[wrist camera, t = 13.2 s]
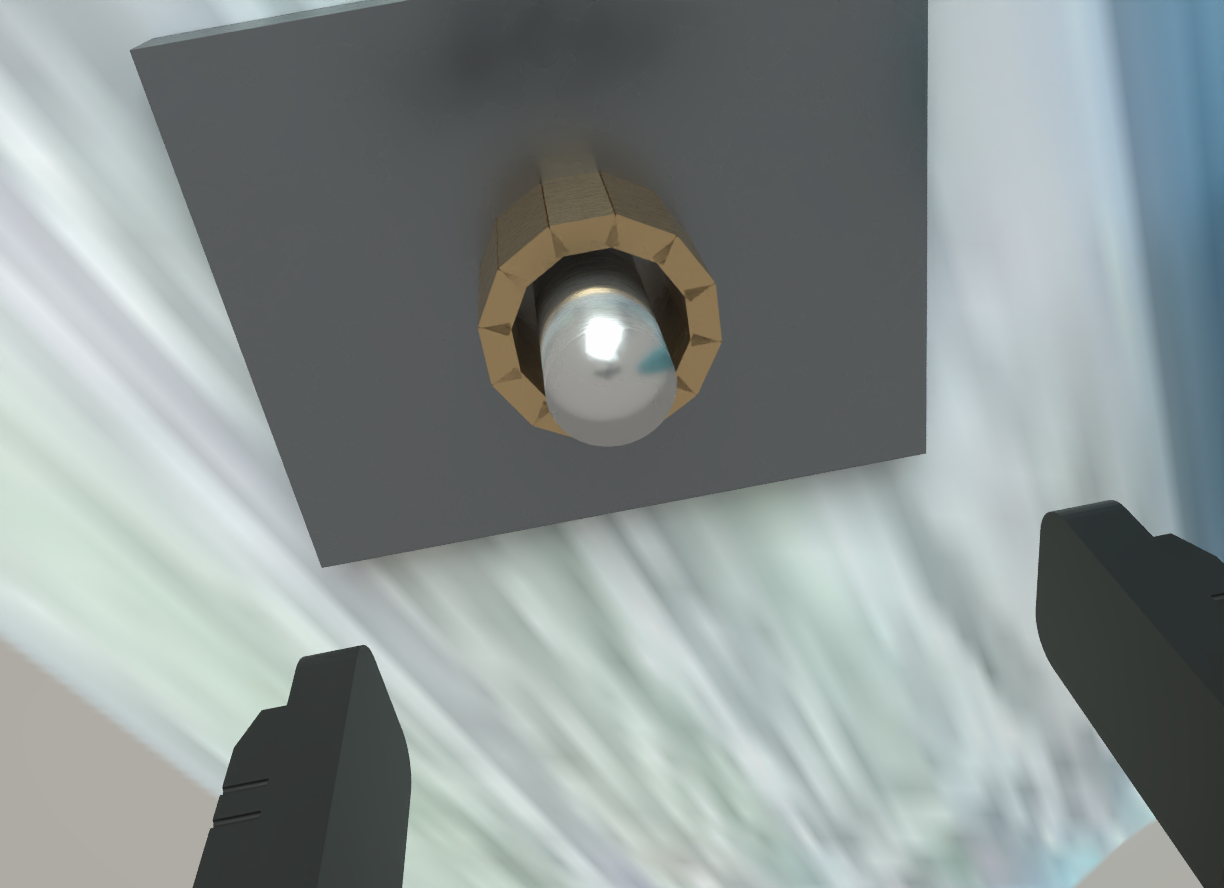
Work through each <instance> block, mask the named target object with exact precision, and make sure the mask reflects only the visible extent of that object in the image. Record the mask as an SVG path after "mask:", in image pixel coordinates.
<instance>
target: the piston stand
mask: <svg viewBox="0 0 1224 888" xmlns="http://www.w3.org/2000/svg"><path fill="white" fill-rule="evenodd" d="M130 52H131V55H132V58H133V61H134V63H135V66H136V69H137V71H138V74H139V77H140V79H141V82H142V85H143V87H144V90H145V93H146V96H147V98H148V101H149V104H150V106H151V109H152V112H153V114H154V117H155V120H156V122H157V125H158V128H159V131H160V133H161V136H162V139H163V141H164V144H165V147H166V149H167V152H168V155H169V157H170V160H171V163H172V165H173V168H174V171H175V174H176V176H177V179H178V182H179V184H180V187H181V190H182V192H183V195H184V198H185V200H186V203H187V206H188V209H189V211H190V214H191V217H192V219H193V222H194V225H195V227H196V230H197V233H198V235H199V238H200V241H201V244H202V246H203V249H204V252H205V254H206V257H207V260H208V262H209V265H210V268H211V270H212V273H213V276H214V279H215V281H216V284H217V287H218V289H219V292H220V295H221V297H222V300H223V303H224V305H225V308H226V311H227V314H228V316H229V319H230V322H231V324H232V327H233V330H234V332H235V335H236V338H237V340H238V343H239V346H240V349H241V351H242V354H243V357H244V359H245V362H246V365H247V367H248V370H249V373H250V375H251V378H252V381H253V384H254V386H255V389H256V392H257V394H258V397H259V400H260V402H261V405H262V408H263V410H264V413H265V416H266V419H267V421H268V424H269V427H270V429H271V432H272V435H273V437H274V440H275V443H276V445H277V448H278V451H279V453H280V456H281V459H282V462H283V464H284V467H285V470H286V472H287V475H288V478H289V480H290V483H291V486H292V488H293V491H294V494H295V497H296V499H297V502H298V505H299V507H300V510H301V513H302V515H303V518H304V521H305V523H306V526H307V529H308V532H309V534H310V537H311V540H312V542H313V545H314V548H315V550H316V553H317V556H318V558H319V561H320V564H321V567H322V568H323V567H329V566H334V565H339V564H345V563H350V562H355V561H360V560H366V559H371V558H376V557H381V556H387V555H392V554H397V553H403V552H408V551H413V550H418V549H424V548H429V547H434V546H440V545H445V544H450V543H455V542H461V541H466V540H471V539H476V538H482V537H487V536H492V535H498V534H503V533H508V532H513V531H519V530H524V529H529V528H534V527H540V526H545V525H550V524H556V523H561V522H566V521H571V520H577V519H582V518H587V517H593V516H598V515H603V514H608V513H614V512H619V511H624V510H629V509H635V508H640V507H645V506H651V505H656V504H661V503H666V502H672V501H677V500H682V499H688V498H693V497H698V496H703V495H709V494H714V493H719V492H724V491H730V490H735V489H740V488H746V487H751V486H756V485H761V484H767V483H772V482H777V481H783V480H788V479H793V478H798V477H804V476H809V475H814V474H819V473H825V472H830V471H835V470H841V469H846V468H851V467H856V466H862V465H867V464H872V463H877V462H883V461H888V460H893V459H899V458H904V457H909V456H914V455H920V454H925V453H926V337H927V71H928V0H364V1H359V2H353V3H348V4H342V5H337V6H331V7H325V8H320V9H314V10H309V11H303V12H298V13H292V14H286V15H281V16H275V17H270V18H264V19H259V20H253V21H247V22H242V23H236V24H231V25H225V26H220V27H214V28H208V29H203V30H197V31H192V32H186V33H181V34H175V35H169V36H164V37H158V38H153V39H151V40H149V41H147V42H145V43H143V44H141V45H139V46H137V47H135V48H133V49H131V50H130ZM595 171H599V172H600V171H601V172H604V173H607V174H610V175H613V176H615V177H618V178H621V179H624V180H626V181H629V182H632V183H635V184H637V185H640V186H643V187H646V188H648V189H651V190H653V191H654V192H655V193H656V194H657V195H658V197H659V198H660V199H661V200H662V202H663V203H664V204H665V205H666V207H667V208H668V209H669V210H670V212H671V213H672V214H673V215H674V217H675V218H676V219H677V220H678V222H679V223H680V224H681V225H682V227H683V228H684V229H685V230H686V232H687V233H688V235H689V236H690V238H691V240H692V242H693V244H694V245H695V247H696V249H697V251H698V253H699V254H700V256H701V258H702V260H703V262H704V263H705V265H706V267H707V269H708V271H709V272H710V274H711V276H712V278H713V280H714V281H715V284H716V290H717V300H718V309H719V318H720V327H721V336H722V341H721V342H722V343H721V345H720V347H719V349H718V352H717V354H716V356H715V358H714V360H713V362H712V364H711V367H710V369H709V371H708V373H707V375H706V377H705V380H704V382H703V384H702V386H701V388H700V390H699V393H698V394H696V396H695V397H694V398H693V399H691V400H690V401H689V402H687V403H686V404H685V405H684V406H682V407H681V408H680V409H678V410H677V411H676V412H674V413H673V414H672V415H670V416H669V417H668V418H666V416H667V415H668V414H669V412H670V410H671V408H672V406H673V403H674V400H675V396H676V391H677V377H676V372H675V368H674V365H673V363H672V360H671V357H670V355H669V352H668V349H667V347H666V344H665V342H664V339H663V336H662V334H661V331H660V328H659V326H658V323H657V321H656V318H655V315H654V312H655V310H656V308H657V305H658V303H659V301H660V298H661V296H662V293H663V291H664V289H665V286H666V278H665V272H664V271H663V270H662V269H661V268H660V266H659V265H658V264H657V263H656V262H653V261H650V260H647V259H644V258H641V257H638V256H635V255H632V254H629V253H626V252H623V251H620V250H618V249H615V248H607V249H601V250H596V251H590V252H585V253H580V254H574V255H569V256H564V257H562V258H561V259H560V260H559V261H558V262H556V263H555V264H554V265H553V266H551V267H550V268H549V269H548V270H547V271H545V272H544V273H543V274H542V275H541V276H539V277H538V278H537V279H536V280H535V281H533V282H532V283H531V284H530V285H528V286H527V287H526V290H525V293H524V296H523V299H522V301H521V304H520V307H519V310H518V312H517V313H518V315H519V316H520V317H521V318H522V319H523V320H524V321H525V322H526V323H527V324H528V325H529V326H530V327H531V328H532V329H533V330H534V331H535V333H536V334H537V335H538V336H539V344H540V352H541V361H542V370H543V379H544V387H545V396H546V402H547V406H548V409H549V411H550V413H551V416H552V417H553V419H554V420H555V422H556V423H557V424H558V425H559V427H560V428H561V429H562V430H564V431H565V432H566V433H567V434H568V435H570V436H571V437H569V436H566V435H562V434H559V433H555V432H552V431H548V430H545V429H541V428H538V427H534V425H531V424H530V423H529V422H528V421H527V420H526V419H525V418H524V417H523V416H522V415H521V414H520V413H519V412H518V411H517V410H516V409H515V408H514V407H513V406H512V405H511V404H510V403H509V402H508V401H507V400H506V399H505V398H504V397H503V396H502V395H501V394H500V393H499V392H498V391H497V390H496V389H495V388H494V387H493V386H492V384H491V381H490V377H489V373H488V368H487V364H486V360H485V356H484V352H483V348H482V343H481V339H480V335H479V331H478V293H479V270H480V267H481V264H482V261H483V258H484V255H485V252H486V249H487V246H488V243H489V240H490V237H491V234H492V231H493V228H494V225H495V222H496V220H497V218H499V217H500V216H501V215H502V214H503V213H504V212H506V211H507V210H508V209H509V208H510V207H511V206H513V205H514V204H515V203H516V202H517V201H518V200H520V199H521V198H522V197H523V196H524V195H525V194H527V193H528V192H529V191H530V190H531V189H533V188H534V187H535V186H536V185H537V184H538V183H540V182H541V184H542V181H546V180H551V179H557V178H562V177H567V176H573V175H578V174H584V173H589V172H595ZM665 418H666V419H665ZM664 419H665V420H664Z"/></svg>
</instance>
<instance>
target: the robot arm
mask: <svg viewBox="0 0 1224 888" xmlns="http://www.w3.org/2000/svg"><path fill="white" fill-rule="evenodd" d="M1036 623H1037V629H1038V634H1039V638H1040V641H1041V644H1042V647H1043V650H1044V652H1045V654H1046V657H1047V658H1048V660H1049V662H1050V664H1051V666H1052V667H1053V669H1054V670H1055V672H1056V673H1057V675H1058V676H1059V677H1060V679H1061V680H1062V682H1063V683H1064V685H1065V686H1066V688H1067V689H1068V691H1069V692H1070V693H1071V695H1072V696H1073V698H1074V699H1075V701H1076V702H1077V704H1078V705H1079V707H1080V708H1081V709H1082V711H1083V712H1084V714H1085V715H1086V717H1087V718H1088V720H1089V721H1090V723H1091V724H1092V726H1093V727H1094V728H1095V730H1096V731H1097V733H1098V734H1099V736H1100V737H1101V739H1102V740H1103V742H1104V743H1105V744H1106V746H1107V747H1108V749H1109V750H1110V752H1111V753H1112V755H1113V756H1114V758H1115V759H1116V760H1117V762H1118V763H1119V765H1120V766H1121V768H1122V769H1123V771H1124V772H1125V774H1126V775H1127V776H1128V778H1129V779H1130V781H1131V782H1132V784H1133V785H1134V787H1135V788H1136V790H1137V791H1138V793H1139V794H1140V795H1141V797H1142V798H1143V800H1144V801H1145V803H1146V804H1147V806H1148V807H1149V809H1150V810H1151V811H1152V813H1153V814H1154V816H1155V817H1156V819H1157V820H1158V822H1159V823H1160V825H1161V826H1162V827H1163V829H1164V830H1165V832H1166V833H1167V834H1168V836H1169V838H1170V839H1171V840H1172V842H1173V843H1174V845H1175V846H1176V848H1177V849H1178V851H1179V852H1180V854H1181V855H1182V857H1183V858H1184V860H1185V861H1186V862H1187V864H1188V865H1189V867H1190V868H1191V870H1192V871H1193V873H1194V874H1195V876H1196V877H1197V878H1198V880H1199V881H1200V883H1201V884H1202V886H1203V887H1204V888H1224V563H1223V562H1222V561H1221V560H1219V559H1218V558H1217V557H1216V556H1214V555H1212V554H1210V553H1208V552H1206V551H1204V550H1202V549H1201V548H1199V547H1197V546H1195V545H1193V544H1191V543H1189V542H1187V541H1185V540H1183V539H1181V538H1179V537H1177V536H1175V535H1173V534H1166V535H1161V536H1156V537H1153V536H1152V535H1151V534H1150V533H1149V532H1148V531H1147V530H1146V529H1145V528H1144V527H1143V526H1142V525H1141V524H1140V523H1139V522H1138V521H1137V519H1136V518H1135V517H1134V516H1133V515H1132V514H1131V513H1130V512H1129V511H1128V510H1127V509H1126V508H1125V507H1124V506H1123V505H1122V504H1120V503H1119V502H1117V501H1114V500H1108V501H1103V502H1098V503H1093V504H1088V505H1082V506H1077V507H1072V508H1067V509H1062V510H1057V511H1052V512H1048V513H1046V515H1045V516H1044V517H1043V520H1042V523H1041V530H1040V546H1039V563H1038V580H1037V597H1036ZM222 788H223V795H220V797H219V800H218V804H217V807H216V810H215V814H214V817H213V823H214V827H213V828H211V829H210V831H209V834H208V838H207V841H206V845H205V848H204V851H203V854H202V858H201V861H200V865H199V868H198V871H197V875H196V878H195V882H194V885H193V888H402V883H403V872H404V861H405V850H406V839H407V829H408V818H409V807H410V796H411V768H410V760H409V753H408V748H407V744H406V740H405V737H404V734H403V731H402V728H401V726H400V723H399V721H398V718H397V715H396V713H395V710H394V708H393V705H392V702H391V700H390V697H389V695H388V692H387V690H386V687H385V684H384V682H383V679H382V677H381V674H380V671H379V669H378V666H377V664H376V661H375V659H374V656H373V654H372V652H371V650H370V649H369V648H368V647H367V646H366V645H361V646H356V647H351V648H346V649H341V650H336V651H330V652H325V653H320V654H315V655H310V656H305V657H302V658H301V659H300V660H299V662H298V664H297V667H296V671H295V675H294V679H293V683H292V687H291V691H290V695H289V699H288V703H287V705H286V706H281V707H276V708H271V709H266V710H262V711H261V712H260V713H259V715H258V716H257V717H256V719H255V720H254V721H253V723H252V724H251V726H250V727H249V728H248V730H247V731H246V732H245V734H244V735H243V736H242V738H241V739H240V740H239V742H238V743H237V744H236V746H235V747H234V749H233V753H232V756H231V759H230V763H229V766H228V770H227V773H226V776H225V780H224V783H223V787H222Z"/></svg>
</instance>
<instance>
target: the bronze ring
mask: <svg viewBox="0 0 1224 888" xmlns="http://www.w3.org/2000/svg"><path fill="white" fill-rule="evenodd" d="M607 248H615V249H618V250H620V251H623V252H626V253H629V254H632V255H635V256H638V257H641V258H644V259H647V260H650V261H653V262H656V263H657V264H658V265H659V266H660V268H661V269H662V270H663V271H664V272H665V278H666V286H665V289H664V291H663V293H662V296H661V298H660V301H659V303H658V305H657V308H656V310H655V312H654V315H655V318H656V321H657V323H658V326H659V328H660V331H661V334H662V336H663V339H664V342H665V344H666V347H667V349H668V352H669V355H670V357H671V360H672V363H673V365H674V368H675V372H676V377H677V391H676V396H675V400H674V403H673V406H672V408H671V410H670V412H669V414H668V415H667V416H666V418H668V417H669V416H670V415H672V414H673V413H674V412H676V411H677V410H678V409H680V408H681V407H682V406H684V405H685V404H686V403H687V402H689V401H690V400H691V399H693V398H694V397H695V396H696V394H698V393H699V390H700V388H701V386H702V384H703V382H704V380H705V377H706V375H707V373H708V371H709V369H710V367H711V364H712V362H713V360H714V358H715V356H716V354H717V352H718V349H719V347H720V345H721V343H722V342H721V341H722V336H721V327H720V318H719V309H718V300H717V290H716V284H715V281H714V280H713V278H712V276H711V274H710V272H709V271H708V269H707V267H706V265H705V263H704V262H703V260H702V258H701V256H700V254H699V253H698V251H697V249H696V247H695V245H694V244H693V242H692V240H691V238H690V236H689V235H688V233H687V232H686V230H685V229H684V228H683V227H682V225H681V224H680V223H679V222H678V220H677V219H676V218H675V217H674V215H673V214H672V213H671V212H670V210H669V209H668V208H667V207H666V205H665V204H664V203H663V202H662V200H661V199H660V198H659V197H658V195H657V194H656V193H655V192H654V191H653V190H651V189H648V188H646V187H643V186H640V185H637V184H635V183H632V182H629V181H626V180H624V179H621V178H618V177H615V176H613V175H610V174H607V173H604V172H601V171H600V172H599V171H595V172H589V173H584V174H578V175H573V176H567V177H562V178H557V179H551V180H546V181H542V184H541V182H540V183H538V184H537V185H536V186H535V187H534V188H533V189H531V190H530V191H529V192H528V193H527V194H525V195H524V196H523V197H522V198H521V199H520V200H518V201H517V202H516V203H515V204H514V205H513V206H511V207H510V208H509V209H508V210H507V211H506V212H504V213H503V214H502V215H501V216H500V217H499V218H497V220H496V222H495V225H494V228H493V231H492V234H491V237H490V240H489V243H488V246H487V249H486V252H485V255H484V258H483V261H482V264H481V267H480V270H479V293H478V331H479V335H480V339H481V343H482V348H483V352H484V356H485V360H486V364H487V368H488V373H489V377H490V381H491V384H492V386H493V387H494V388H495V389H496V390H497V391H498V392H499V393H500V394H501V395H502V396H503V397H504V398H505V399H506V400H507V401H508V402H509V403H510V404H511V405H512V406H513V407H514V408H515V409H516V410H517V411H518V412H519V413H520V414H521V415H522V416H523V417H524V418H525V419H526V420H527V421H528V422H529V423H530V424H531V425H534V427H538V428H541V429H545V430H548V431H552V432H555V433H559V434H562V435H566V436H569V437H571V436H570V435H568V434H567V433H566V432H565V431H564V430H562V429H561V428H560V427H559V425H558V424H557V423H556V422H555V420H554V419H553V417H552V416H551V413H550V411H549V409H548V406H547V402H546V396H545V387H544V379H543V370H542V361H541V352H540V344H539V336H538V335H537V334H536V333H535V331H534V330H533V329H532V328H531V327H530V326H529V325H528V324H527V323H526V322H525V321H524V320H523V319H522V318H521V317H520V316H519V315H518V313H517V312H518V310H519V307H520V304H521V301H522V299H523V296H524V293H525V290H526V287H527V286H528V285H530V284H531V283H532V282H533V281H535V280H536V279H537V278H538V277H539V276H541V275H542V274H543V273H544V272H545V271H547V270H548V269H549V268H550V267H551V266H553V265H554V264H555V263H556V262H558V261H559V260H560V259H561V258H562V257H564V256H569V255H574V254H580V253H585V252H590V251H596V250H601V249H607ZM666 418H665V419H666ZM665 419H664V420H665Z"/></svg>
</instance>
